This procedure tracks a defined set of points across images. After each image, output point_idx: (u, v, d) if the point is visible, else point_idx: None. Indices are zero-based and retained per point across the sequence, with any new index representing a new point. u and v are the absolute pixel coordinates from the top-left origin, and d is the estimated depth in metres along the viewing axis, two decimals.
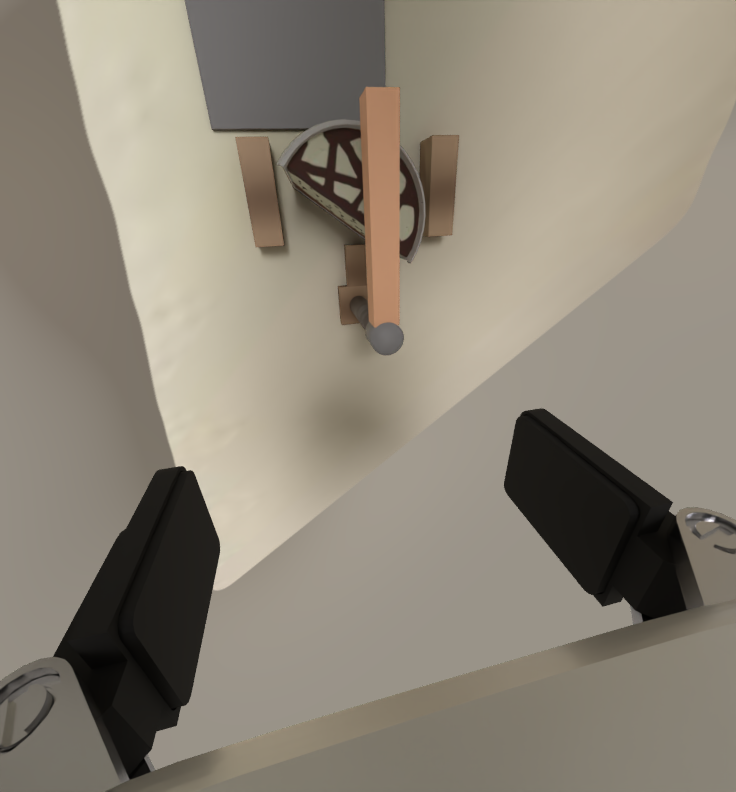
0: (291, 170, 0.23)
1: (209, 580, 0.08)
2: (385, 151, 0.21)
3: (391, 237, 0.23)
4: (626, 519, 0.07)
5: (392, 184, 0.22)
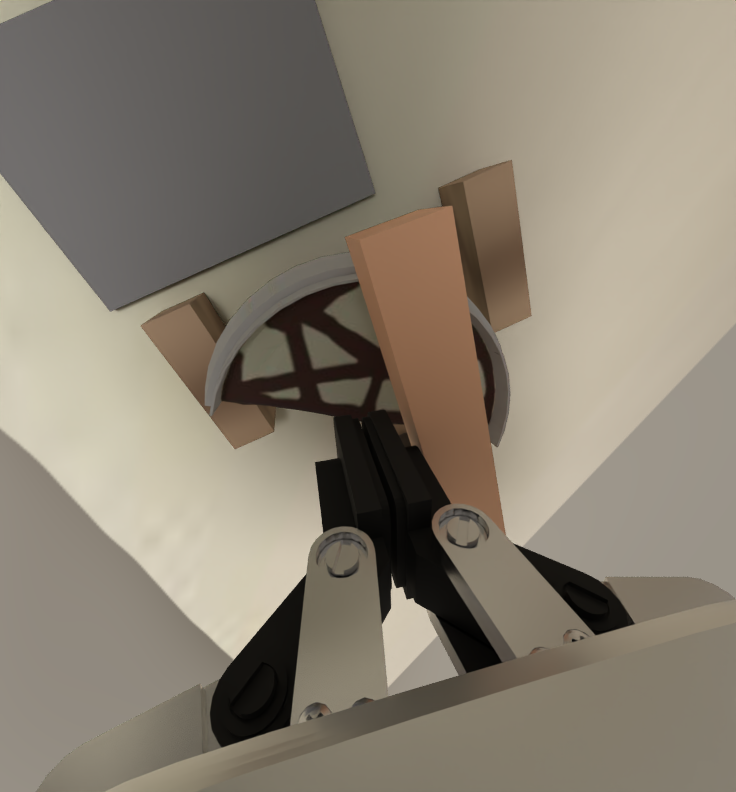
0: (232, 401, 0.12)
1: None
2: (441, 353, 0.08)
3: (480, 484, 0.11)
4: (396, 515, 0.07)
5: (467, 404, 0.09)
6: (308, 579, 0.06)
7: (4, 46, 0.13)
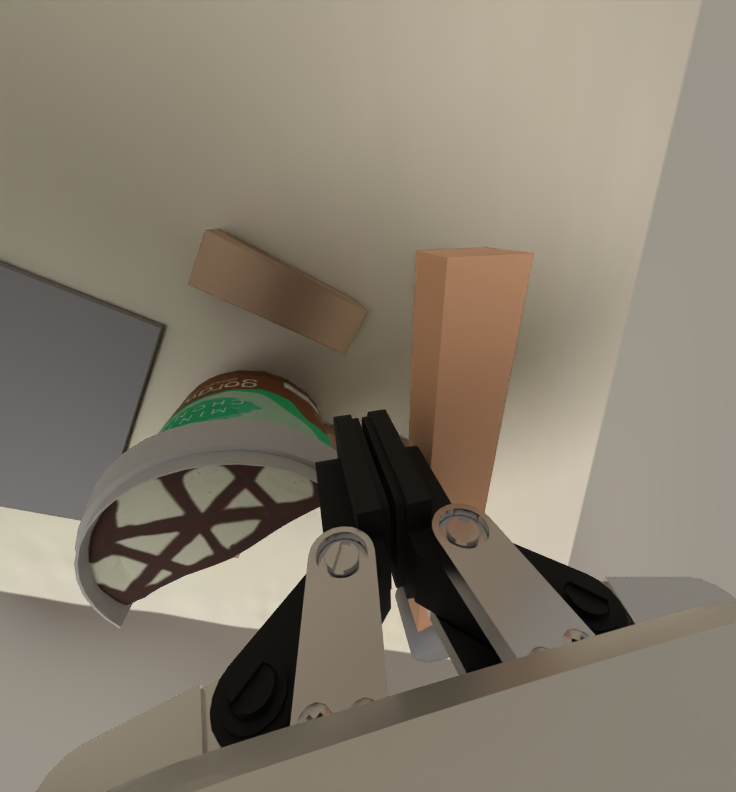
0: (135, 600, 0.15)
1: None
2: (478, 382, 0.09)
3: None
4: (396, 515, 0.07)
5: (484, 436, 0.09)
6: (308, 579, 0.06)
7: None
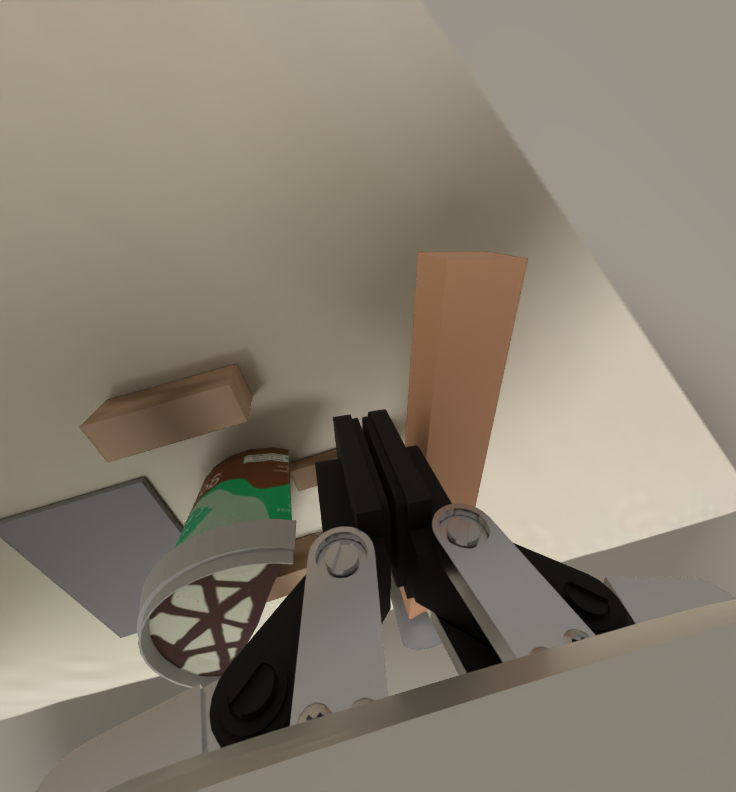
0: None
1: None
2: (473, 379, 0.09)
3: None
4: (396, 515, 0.07)
5: (477, 430, 0.10)
6: (308, 579, 0.06)
7: (105, 617, 0.28)
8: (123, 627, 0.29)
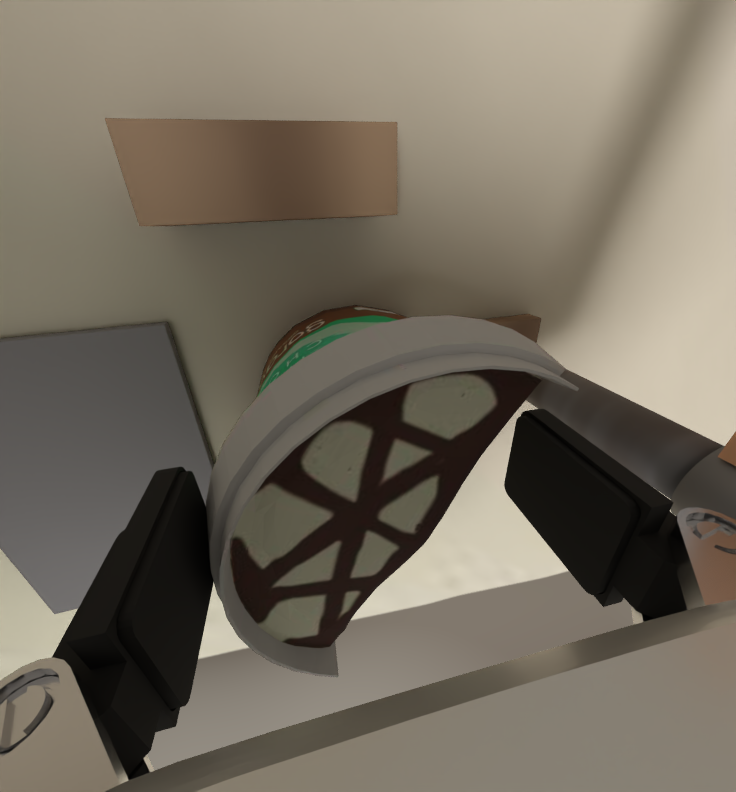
0: (336, 636, 0.11)
1: (208, 580, 0.08)
2: None
3: None
4: (627, 519, 0.07)
5: None
6: None
7: (36, 574, 0.17)
8: (63, 595, 0.18)
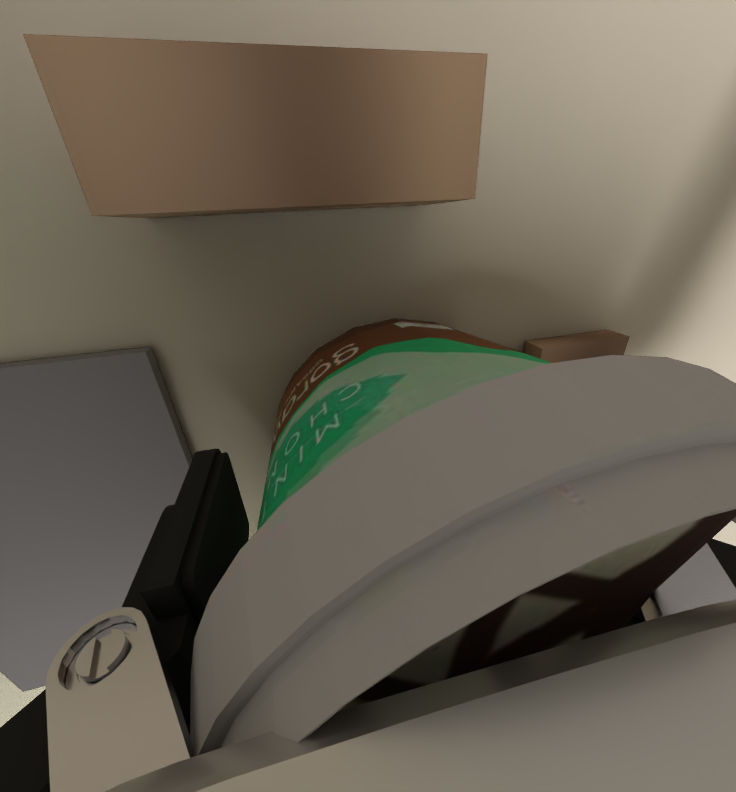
0: None
1: None
2: None
3: None
4: None
5: None
6: (51, 713, 0.04)
7: None
8: (33, 672, 0.15)
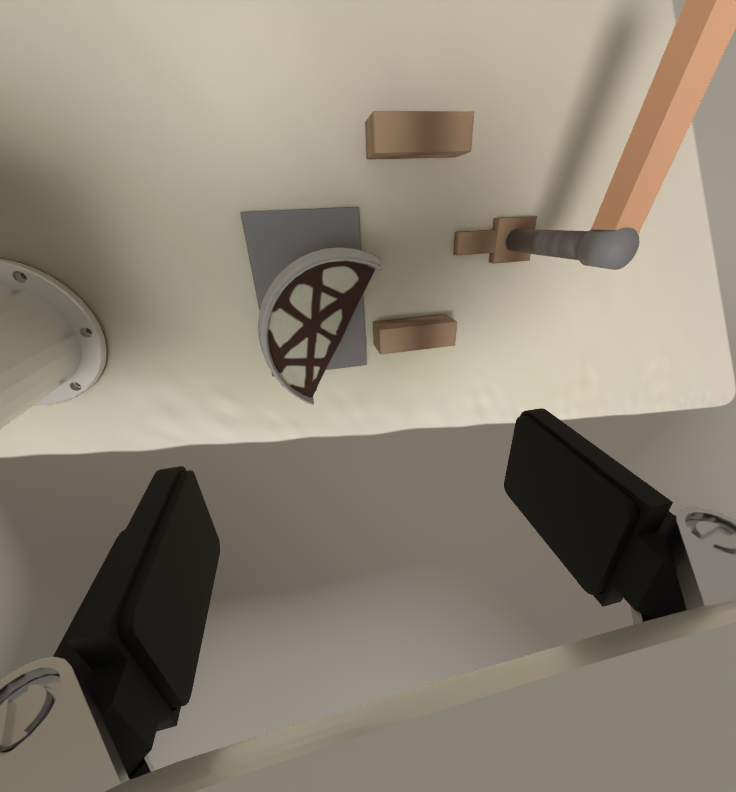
0: (313, 393, 0.27)
1: (209, 580, 0.08)
2: (731, 6, 0.18)
3: (684, 120, 0.20)
4: (626, 519, 0.07)
5: (716, 52, 0.19)
6: None
7: None
8: None
